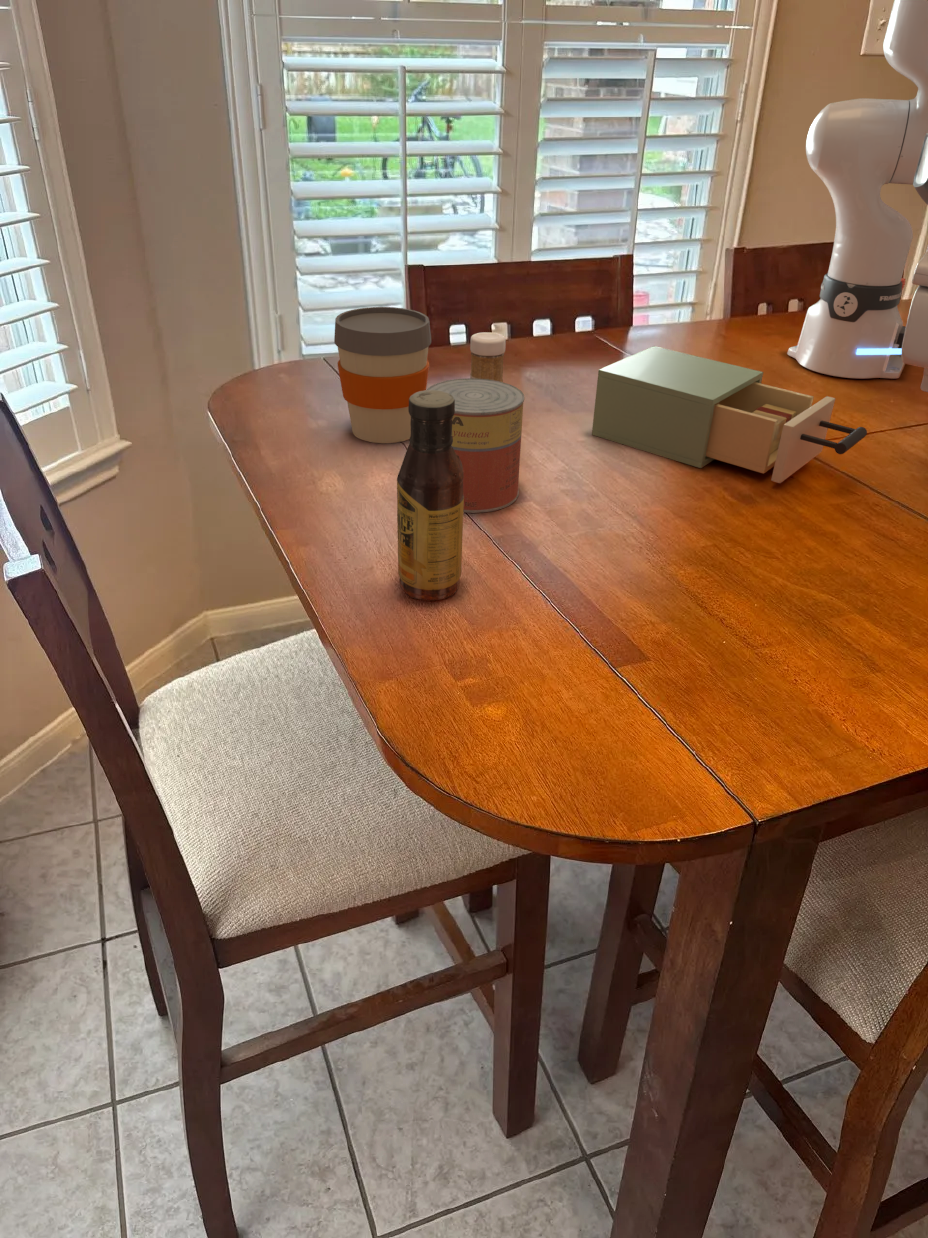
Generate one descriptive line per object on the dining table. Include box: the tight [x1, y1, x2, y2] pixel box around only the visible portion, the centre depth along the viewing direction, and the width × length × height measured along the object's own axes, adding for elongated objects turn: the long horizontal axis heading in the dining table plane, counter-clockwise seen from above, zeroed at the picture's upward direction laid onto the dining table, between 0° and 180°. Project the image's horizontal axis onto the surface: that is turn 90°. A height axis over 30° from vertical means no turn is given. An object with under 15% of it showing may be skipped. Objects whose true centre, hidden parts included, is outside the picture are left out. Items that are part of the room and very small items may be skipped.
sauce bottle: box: [396, 389, 464, 602], centre depth 86 cm, size 7×6×20 cm
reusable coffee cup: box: [333, 306, 432, 444], centre depth 121 cm, size 13×13×15 cm
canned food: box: [426, 377, 525, 514], centre depth 107 cm, size 11×11×12 cm
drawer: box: [706, 382, 868, 484], centre depth 117 cm, size 21×13×7 cm, turn 50°
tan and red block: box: [752, 404, 796, 454], centre depth 117 cm, size 9×4×4 cm, turn 140°
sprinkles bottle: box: [469, 331, 507, 382], centre depth 121 cm, size 5×5×13 cm
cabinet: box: [591, 345, 764, 469], centre depth 124 cm, size 17×15×9 cm
